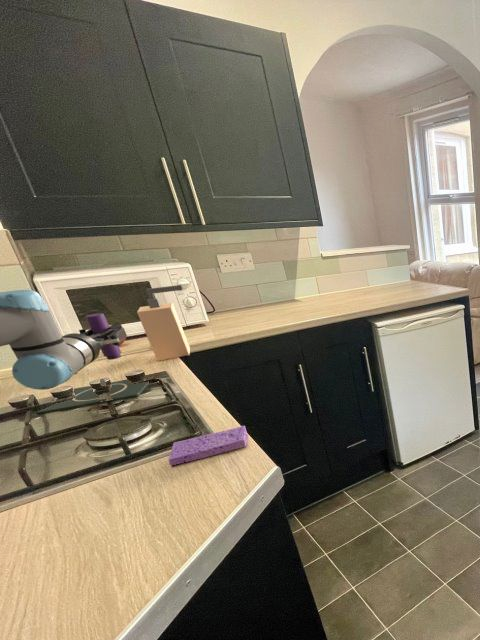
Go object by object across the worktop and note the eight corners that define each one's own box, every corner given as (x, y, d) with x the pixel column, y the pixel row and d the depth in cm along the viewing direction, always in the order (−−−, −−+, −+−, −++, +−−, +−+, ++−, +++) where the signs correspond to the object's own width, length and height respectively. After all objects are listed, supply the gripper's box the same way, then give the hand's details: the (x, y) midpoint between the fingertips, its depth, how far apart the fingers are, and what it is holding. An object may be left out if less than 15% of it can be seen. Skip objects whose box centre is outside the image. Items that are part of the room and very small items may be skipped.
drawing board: (37, 414, 102) (35, 412, 102) (66, 391, 114) (65, 389, 114) (138, 396, 109) (137, 394, 109) (155, 377, 122) (154, 374, 122)
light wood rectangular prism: (157, 361, 135) (128, 293, 126) (159, 354, 141) (132, 289, 132) (204, 352, 141) (180, 286, 132) (204, 346, 148) (181, 283, 139)
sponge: (246, 447, 83) (243, 439, 83) (169, 467, 78) (166, 459, 77) (248, 432, 89) (245, 424, 88) (176, 450, 84) (172, 442, 83)
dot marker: (103, 361, 112) (82, 317, 107) (108, 357, 115) (88, 314, 110) (120, 358, 113) (100, 315, 109) (124, 354, 116) (105, 312, 112)
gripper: (32, 375, 95) (78, 346, 114) (123, 361, 101) (152, 336, 121) (14, 343, 92) (65, 319, 111) (110, 331, 98) (142, 310, 117)
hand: (110, 328), depth 116 cm, fingers closed on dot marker, 4 cm apart
